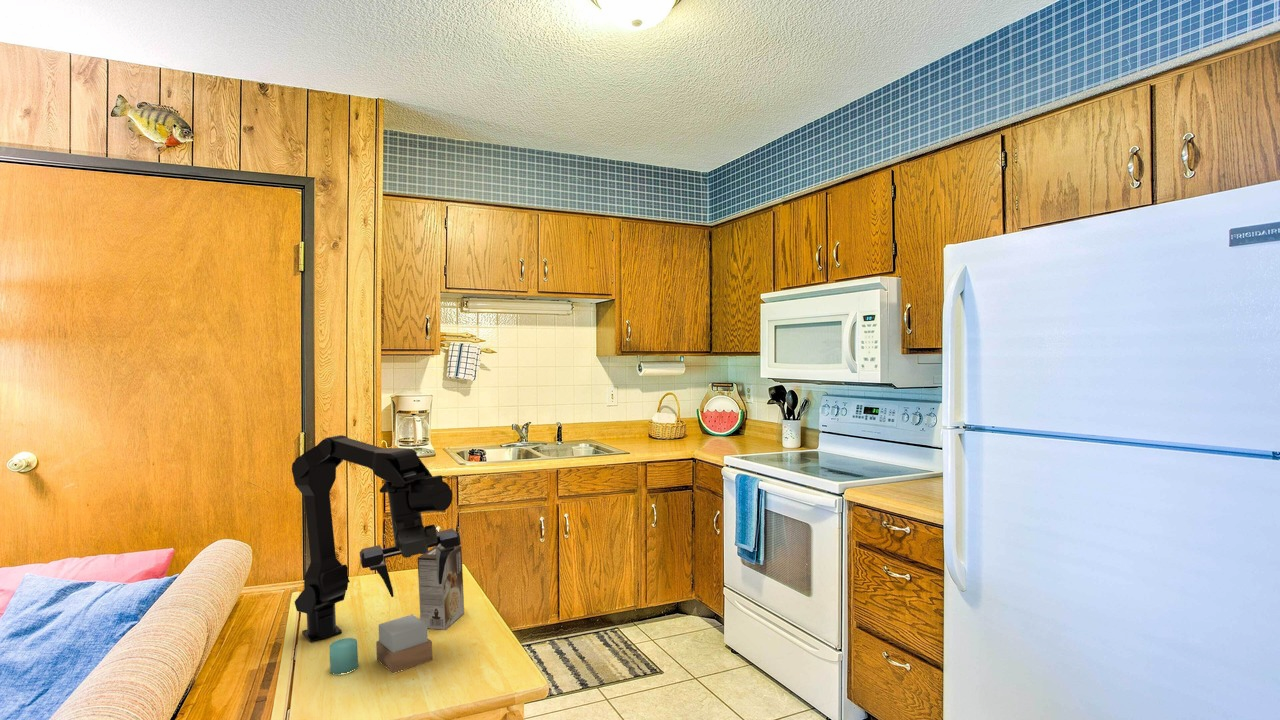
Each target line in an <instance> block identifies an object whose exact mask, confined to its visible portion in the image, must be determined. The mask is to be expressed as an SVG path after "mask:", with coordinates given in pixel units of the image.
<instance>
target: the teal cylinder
mask: <svg viewBox="0 0 1280 720" xmlns="http://www.w3.org/2000/svg"><path fill="white" fill-rule="evenodd" d="M357 667H358V668H359V651H358V639H357V638H355V637H345V638H340V639H337V640H334V641H333V642H331V643H330V644H329V668H330V669H329V671H331V672H330V674H331V673H334V674H341V673H347V672H350V671H352V670H354V669H356V668H357ZM358 668H357V669H358ZM357 669H356V670H357Z"/></svg>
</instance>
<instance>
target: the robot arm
mask: <svg viewBox="0 0 1280 720" xmlns="http://www.w3.org/2000/svg"><path fill="white" fill-rule="evenodd" d="M417 454H418V452H417V451H416V450H414V449H412V448H410V447H408V448H407V447H406V448H405V447H404V448H403V447H393V448H392V447H391V448H390V447H389V448H386V447H380V446H377V445H374V444H370V443H366V442H363V441H360V440H357V439H354V438H353V439H352V438H349V437H348V436H347V435H343V434H340V435H334V436H327V437H324V439H322V440H321V441H320V442H319V443H318V444H316V445H315V446H313V447H312V448H310V449H309V450H307V451H306V452H304V453H303V454H301V455H299V456H298V457H296V458H295V460H294V461H293V462H292V465H291V473H292V477H293V481H294V482H293V483H294V486H295V487H296V488H297V489H298V491H299V492H300V493H301V494H302V495H303V497H304V505H305V506H304V508H305V515H306V524H307V525H306V526H307V527H306V528H307V535H308V536H307V537H308V546H309V555H310V556H309V557H310V563H309V566H308V568H307V570H306V573H305V574H304V577H303V578H304V579H303V590H302V592H300V593H299V596H297V598H296V599H295V600H294V605H295V609H296V612H300V613H304V614H306V627H307V629H304V630H303V629H302V631H301V633H302V635H303V636H304V637H305V638H306V639H307V641H309V642H316V641H319V640H323V639H326V638H329V637H333V636H337V635H339V634H342V632H343V631H342V629H341V628H340V627H339V626H338V625H337V620H336V619H337V618H336V617H337V616H336V604H337V603H339V602H342V601H344V600H345V597H346V593H347V590H348V588H349V583H350V579H349V573H348V570H349V569H348V566H347V564H342V563H341V561H340V560H339V559H338V558H337V554H336V545H335V536H334V533H335V532H334V526H333V525H334V524H333V515H332V506H331V493H330V492H331V490H332V488H333V486H334V484H335V481H336V479H337V468H338V466H340V465H341V463H342V462H344V461H346V462H349V463H353V464H356V465H358V466H362V467H365V468H368V469H370V470H371V471H372V472H373V474H374V476H376V477H377V478H379V479H382V480H383V481H384V484H383V485H382V486H381V488H380V489H379V493H381V494H383V493H385V494H386V493H387V496H388V503H389V513H390V517H391V525H392V533H393V540H394V546H390V547H386V548H382V546H381V545H380V544H378V545H373V546H369V547H364V548H361V549H360V551H359V558H360V565H361V567H362V568H363V569H367V568H369V571H372V572H373V571H376V573H378V575H379V576H380V578H381V579H382V580H383V583H384V584H385V587H386V588H387V591H388V593H389V595H390V597H391V598H393V597H395V594H394V590H393V589H394V588H393V586H392V581H391V578H390V575H389V570H388V567H387V564H386V562H385V559H387V558H392V557H396V556H400V555H401V557H402V558H404V559H405V558H406V559H407V558H411V557H412V556H413V557H414V556H417V555H423V554H425V553H427V552H428V551H429V549H430V548H434V547H435V546H438V547H436V564H437V578H438V583H439V585H440V584H441V583H442V578H443V573H444V567H445V563H446V560H447V557H448V555H449V553H450V552H451V551H454V550H455V548H454V547H455V546H462V544H461V542H462V541H461V536H460V533H459V532H458V531H456V530H454V529H453V528H447V529H444V530H439V531H437V528H436V525H435V524H430V525H426V526H424V524H423V516H422V513H426V512H443V511H444V512H445V511H446V510H448V508H449V507H450V506H451V504H452V501H453V490H452V489H451V486H450V485H449V484H448V483H447V482H446V481H444V480H443V476H442V474H441V475H435V476H433V475H432V473H431V472H430V470H429V469H428V468H427V467H426V465H425V464H424V463H423V461H422V460H421V459H420V457H419V456H418V455H417Z"/></svg>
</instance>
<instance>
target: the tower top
mask: <svg viewBox="0 0 1280 720" xmlns="http://www.w3.org/2000/svg"><path fill="white" fill-rule="evenodd" d="M428 636H429V635H428V628H427V624H426V623H424V622H423V621H422V620H420V617H417V616H416V615H414V614H409V615H405V616H402V617H399V618H395V619H393V620H389V621H385V622H382V623H380V624H378V641H379V642H380V643H381V644H383V645H384V646H385V647H386V648H387V649H388V650H390V651H391V652H392V653H396V652H398V651H401V650H404V649H407V648H410V647H413V646H416V645H419V644H422V643H425V642H428V639H429V638H428Z"/></svg>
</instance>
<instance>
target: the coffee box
mask: <svg viewBox="0 0 1280 720" xmlns="http://www.w3.org/2000/svg"><path fill="white" fill-rule="evenodd" d="M436 547H438V546H434V547H431V549H428V552H427V553H425V554H420V555H419V556H418V557H416V558H417V570H418V571H417V576H418V579H417V580H418V599H419V600H418V601H419V619H420V620H422V621H423V622H424V623H426V624H427V629H428V628H429V629H430V630H431V629H433V630H448V629H449V627H450V626H451V625H453V623H455V622H456V621H457V620H458V619H459V618H460V617H462V616H463V615H464V614H465V600H464V598H465V597H464V596H465V595H464V574H463V556H462V555H463V553H462V552H463V551H462V547H463V546H462V545H459V546H455V547H454V548H455V550H454V551H451V552H450V553H449V555H448V557H447V560H446V563H445V567H444V573H443V578H442V583H441V584H440V585H439V583H438V578H437V564H436Z"/></svg>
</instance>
